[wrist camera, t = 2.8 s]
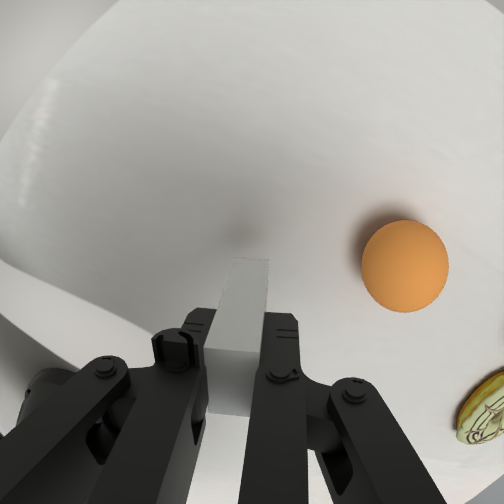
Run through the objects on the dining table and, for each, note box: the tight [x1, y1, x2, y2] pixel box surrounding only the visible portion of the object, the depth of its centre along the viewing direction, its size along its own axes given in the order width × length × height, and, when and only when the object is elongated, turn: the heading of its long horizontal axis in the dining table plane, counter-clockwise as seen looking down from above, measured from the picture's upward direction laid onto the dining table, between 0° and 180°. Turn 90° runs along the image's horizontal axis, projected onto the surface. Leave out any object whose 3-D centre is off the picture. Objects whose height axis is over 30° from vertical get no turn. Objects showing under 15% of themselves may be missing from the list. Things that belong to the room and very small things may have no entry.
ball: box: [361, 220, 449, 313], centre depth 18 cm, size 6×6×6 cm
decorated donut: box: [456, 371, 504, 445], centre depth 24 cm, size 10×11×4 cm
